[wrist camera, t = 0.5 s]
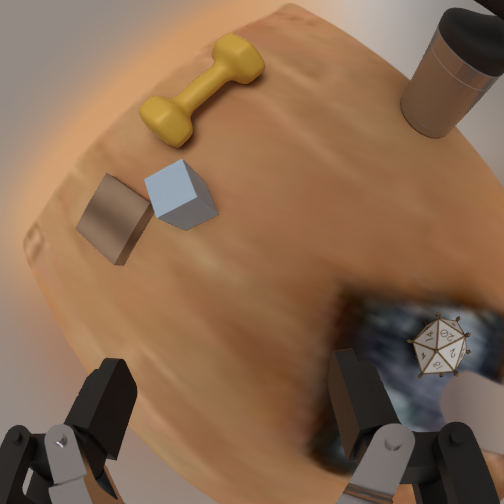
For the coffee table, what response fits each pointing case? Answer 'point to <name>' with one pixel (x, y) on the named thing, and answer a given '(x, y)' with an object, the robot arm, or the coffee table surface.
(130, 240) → the slab
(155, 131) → the dumbbell
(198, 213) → the pillar
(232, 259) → the coffee table surface
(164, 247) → the coffee table surface
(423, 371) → the game die
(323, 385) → the coffee table surface
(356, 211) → the coffee table surface
